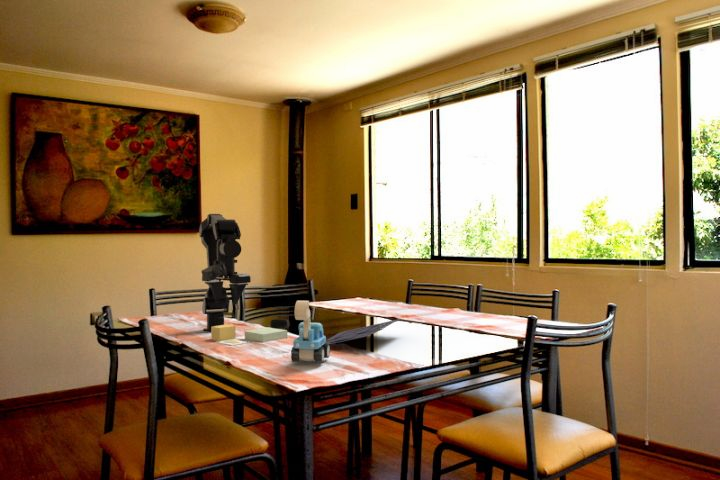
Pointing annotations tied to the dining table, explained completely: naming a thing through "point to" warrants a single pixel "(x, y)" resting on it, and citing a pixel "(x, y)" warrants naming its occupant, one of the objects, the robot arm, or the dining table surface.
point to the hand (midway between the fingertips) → (226, 303)
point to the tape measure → (279, 323)
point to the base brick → (265, 334)
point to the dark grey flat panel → (358, 333)
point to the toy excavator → (308, 337)
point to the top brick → (223, 332)
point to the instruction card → (232, 342)
